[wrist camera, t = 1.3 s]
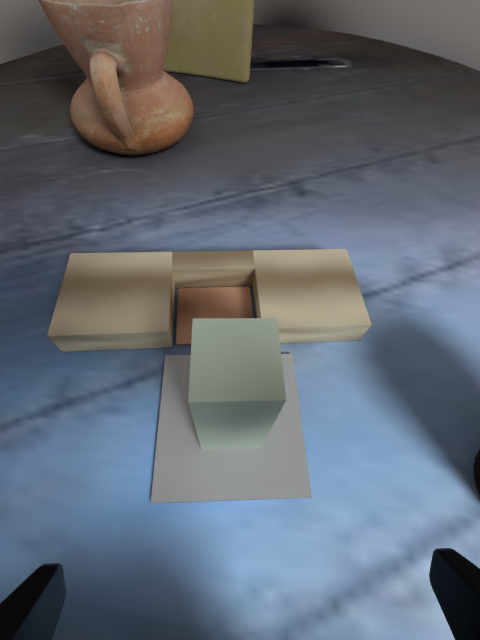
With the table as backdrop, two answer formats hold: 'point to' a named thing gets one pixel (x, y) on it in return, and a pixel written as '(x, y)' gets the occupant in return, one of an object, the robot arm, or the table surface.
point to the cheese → (211, 39)
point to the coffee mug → (477, 471)
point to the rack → (205, 296)
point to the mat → (226, 450)
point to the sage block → (235, 381)
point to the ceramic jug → (122, 73)
